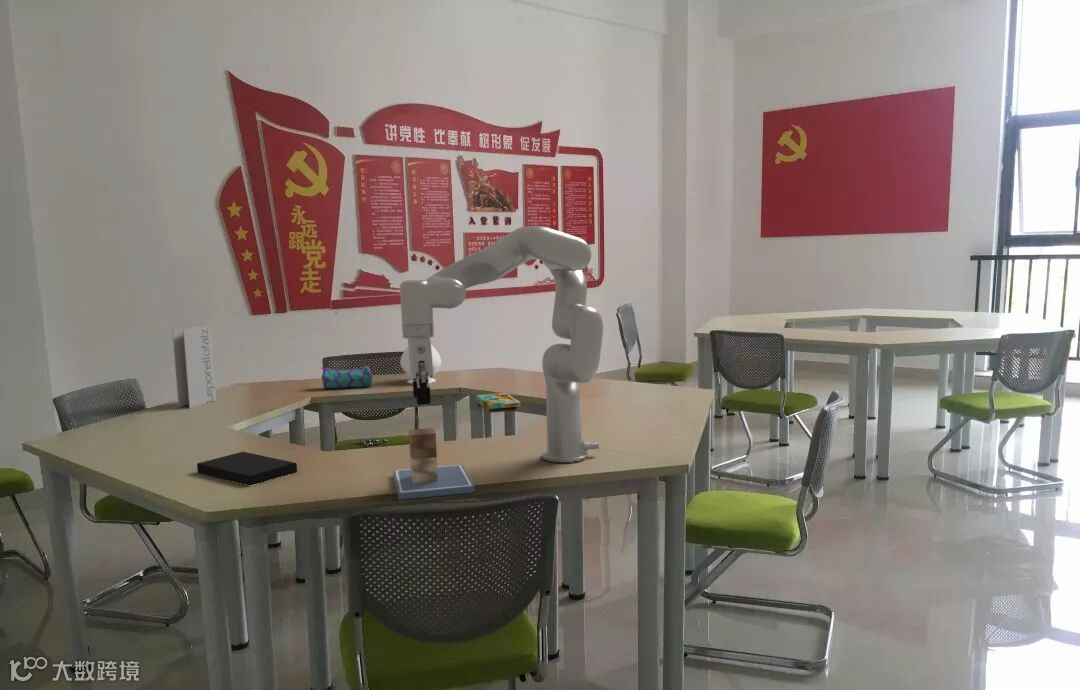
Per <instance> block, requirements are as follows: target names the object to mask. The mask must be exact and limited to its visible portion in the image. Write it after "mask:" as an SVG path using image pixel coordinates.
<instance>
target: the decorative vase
mask: <svg viewBox="0 0 1080 690" xmlns="http://www.w3.org/2000/svg"><path fill="white" fill-rule="evenodd" d="M431 350H432V363H433V374H434V375H435V374H436V373H437V371H438V370H439V369H440V368H441V365H442V359H441V358H442V357H441V355H440V353H439V352H438V350H437V348H435V347H434V346H433V345H432V344H431ZM399 362H400V366H401V368H402V370H403V372H404V373H405V374H406V375H407V376H408V377H409V378H410V379H409V380H407V384H409V383H410V385H413V376H412V374H411V370H410V362H409V351H408V346H407V347H406V349H405V350H404V351H403V353H402V354H401V357H400V361H399ZM428 380H429V384H433V383H432V382H434V383H436V382H437V379H435V378H434V377H433V378H430V376H428ZM435 381H436V382H435Z"/></svg>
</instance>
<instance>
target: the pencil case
mask: <svg viewBox="0 0 1080 690" xmlns="http://www.w3.org/2000/svg"><path fill="white" fill-rule="evenodd" d="M321 369H322V370H323V371H322V374H321V381H322V385H323V388H325V390H328V389H330V388H337V389H363V388H370V387H372V385H373V374H372V370H371V368H370V367H369V366H368V365H366V364H365V365H363V366H361V367H359V368H358V367H356V368H350V369H344V370H339V369H333V368H330V367H325V368H324V366H322V367H321ZM327 388H328V389H327Z"/></svg>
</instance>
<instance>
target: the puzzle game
mask: <svg viewBox="0 0 1080 690" xmlns="http://www.w3.org/2000/svg"><path fill="white" fill-rule="evenodd" d="M475 400H476V402H477V404H478V405H480V407H482V408H484V409H485V410H486V411H487V412H489V414H491V413H502V412H514V411H516V410H517V409H518V407H519V408H520V407H522V402H521V401H519V400H518V399H516V398H515V397H514V396H512V395H510V394H509V393H508V392H500V393H498V392H497V393H485V394H477V395H475Z"/></svg>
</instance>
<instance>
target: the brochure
mask: <svg viewBox="0 0 1080 690" xmlns="http://www.w3.org/2000/svg"><path fill="white" fill-rule="evenodd" d="M171 331H172V333H171V334H172V343H173V344H172V345H173V355H174V356H173V357H174V367H175V368H174V370H175V380H176V392H177V403H178V408H179V407H180V408H183V407H182V406H184V407H186V406H185V405H188V406H189V409H192V408H191V407H193V408H196V407H195V406H197V407H200V406H199V405H201V406H203V405H202V404H204V405H207V404H206V403H208V404H211V403H210V402H212V403H214V402H213V401H216V402H217V390H216V387H217V386H216V377H215V364H214V361H215V360H214V350H213V336H212V326H210V325H209V326H204V327H201V325H200V326H198V325H197V326H193V327H185V328H178V329H177V328H176V329H172V330H171Z"/></svg>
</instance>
